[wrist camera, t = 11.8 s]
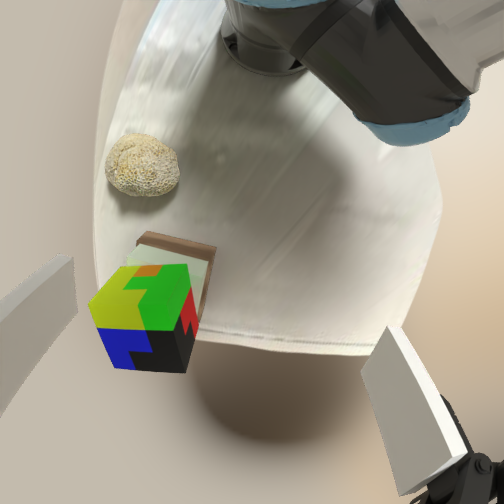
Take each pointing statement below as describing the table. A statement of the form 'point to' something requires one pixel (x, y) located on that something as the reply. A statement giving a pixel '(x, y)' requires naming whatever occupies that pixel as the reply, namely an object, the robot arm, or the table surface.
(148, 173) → the decorative item
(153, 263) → the sage slab
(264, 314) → the table surface
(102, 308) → the puzzle toy
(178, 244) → the walnut slab
